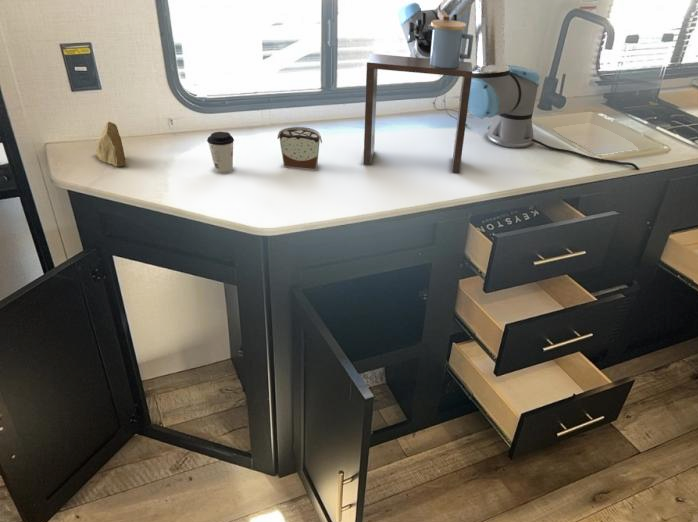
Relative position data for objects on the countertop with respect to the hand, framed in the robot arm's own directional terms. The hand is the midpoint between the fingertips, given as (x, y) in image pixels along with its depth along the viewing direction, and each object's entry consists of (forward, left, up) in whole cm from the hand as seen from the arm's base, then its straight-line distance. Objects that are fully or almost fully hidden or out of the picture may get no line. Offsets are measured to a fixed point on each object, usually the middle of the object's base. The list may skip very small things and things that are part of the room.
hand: (439, 18), depth 165 cm
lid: (-2, +6, 0) cm, 6 cm away
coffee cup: (+55, +28, -38) cm, 73 cm away
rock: (+86, +29, -38) cm, 99 cm away
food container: (+35, +19, -38) cm, 55 cm away
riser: (+4, +10, -38) cm, 39 cm away
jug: (-2, +10, -9) cm, 14 cm away
